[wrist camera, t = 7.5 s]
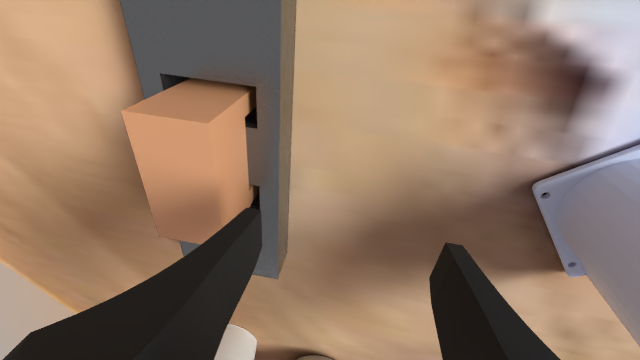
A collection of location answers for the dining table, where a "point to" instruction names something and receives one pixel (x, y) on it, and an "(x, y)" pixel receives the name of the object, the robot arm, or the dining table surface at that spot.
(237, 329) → the foam cup
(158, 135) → the tan orange block
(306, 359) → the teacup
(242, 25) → the slate rail
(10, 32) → the dining table surface
